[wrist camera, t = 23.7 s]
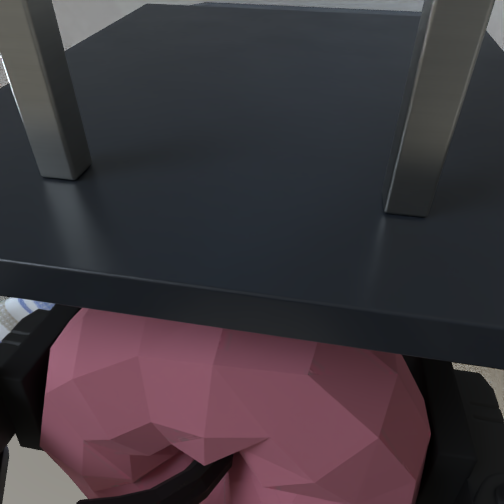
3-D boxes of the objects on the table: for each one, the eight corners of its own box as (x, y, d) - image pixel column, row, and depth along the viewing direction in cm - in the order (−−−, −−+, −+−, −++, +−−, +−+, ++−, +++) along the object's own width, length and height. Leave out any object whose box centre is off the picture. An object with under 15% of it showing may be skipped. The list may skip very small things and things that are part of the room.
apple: (191, 375, 20) (77, 668, 11) (101, 203, 16) (-173, 458, 8) (418, 352, 17) (486, 726, 8) (375, 133, 13) (424, 427, 5)
